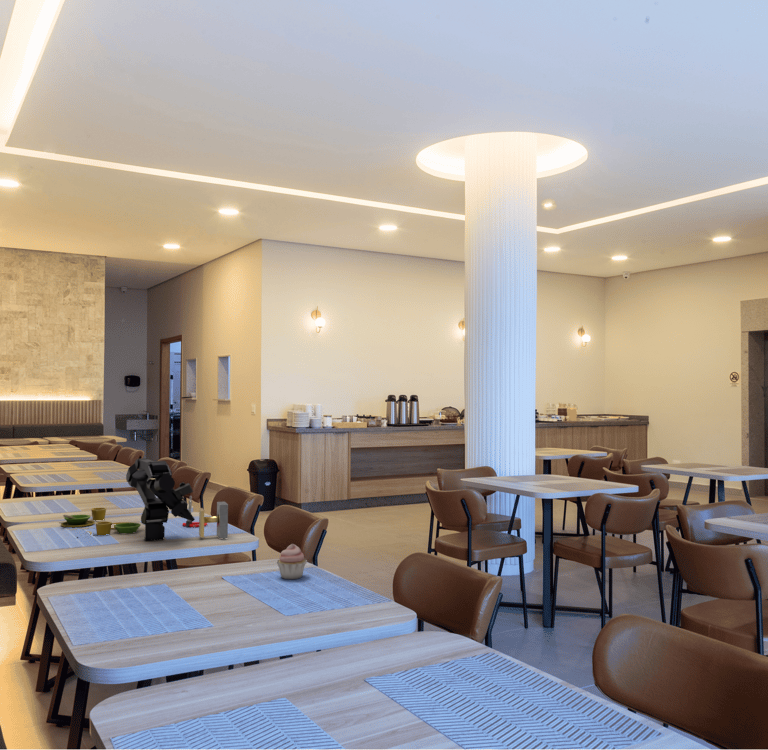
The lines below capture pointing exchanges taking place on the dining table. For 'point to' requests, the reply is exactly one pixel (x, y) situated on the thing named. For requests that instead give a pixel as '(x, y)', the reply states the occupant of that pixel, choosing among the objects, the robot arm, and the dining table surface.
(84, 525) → the tableware set
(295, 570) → the cupcake
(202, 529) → the brass pin
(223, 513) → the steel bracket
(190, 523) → the tow hook
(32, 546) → the dining table surface
